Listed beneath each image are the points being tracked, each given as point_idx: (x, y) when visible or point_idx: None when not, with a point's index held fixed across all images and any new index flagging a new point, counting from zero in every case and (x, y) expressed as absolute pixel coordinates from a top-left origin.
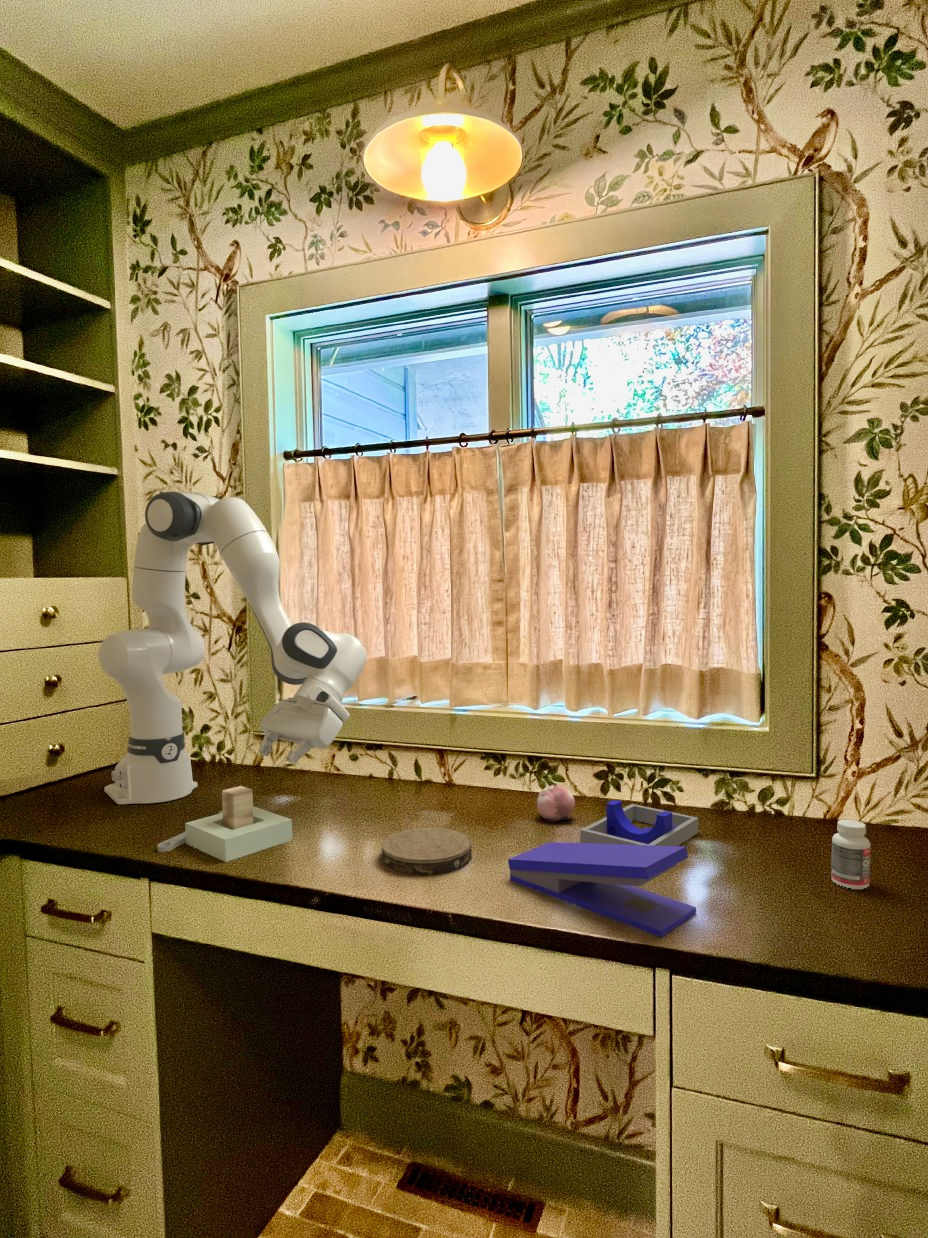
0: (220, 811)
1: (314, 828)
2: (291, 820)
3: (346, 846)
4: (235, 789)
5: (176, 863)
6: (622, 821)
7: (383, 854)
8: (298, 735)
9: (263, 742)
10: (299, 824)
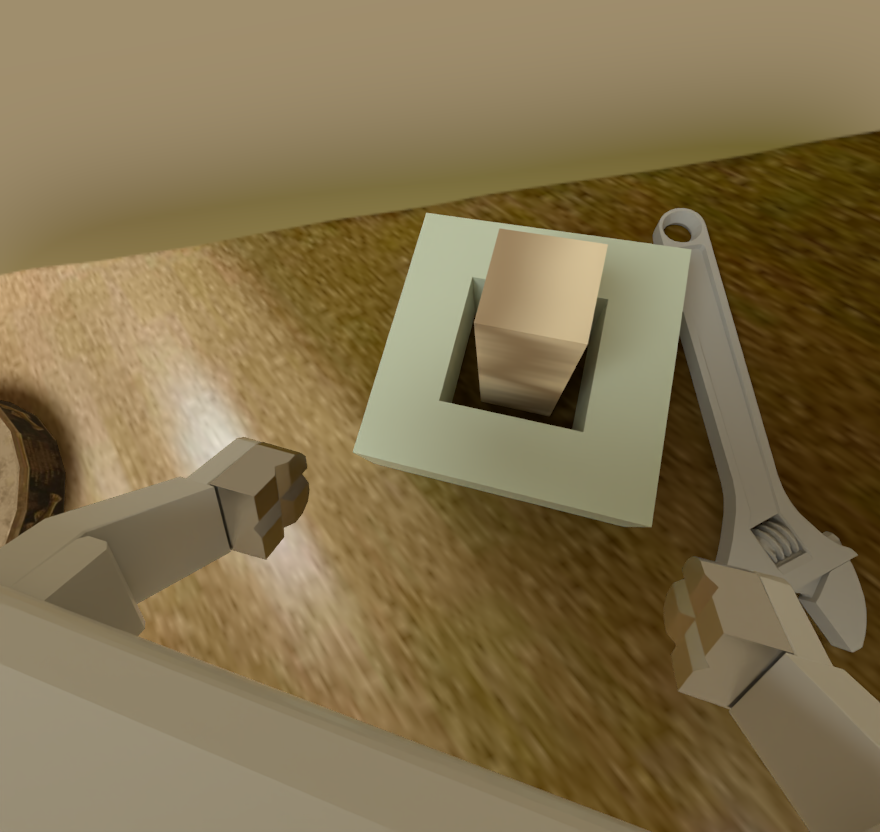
0: (845, 553)
1: (375, 596)
2: (354, 451)
3: None
4: (557, 284)
5: (550, 195)
6: None
7: (21, 425)
8: (36, 609)
9: (853, 685)
10: (455, 612)
